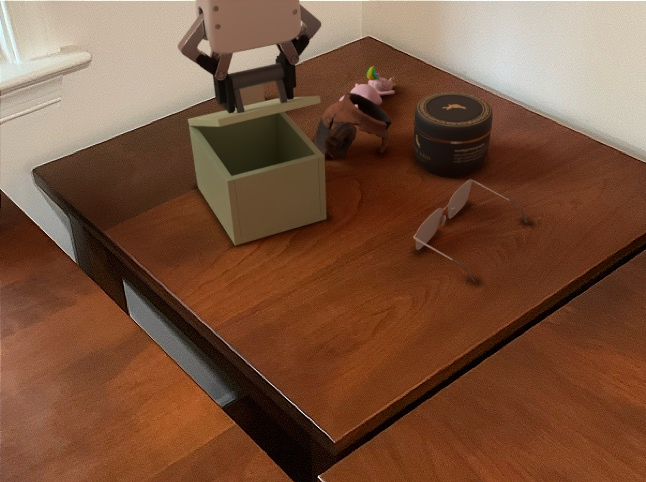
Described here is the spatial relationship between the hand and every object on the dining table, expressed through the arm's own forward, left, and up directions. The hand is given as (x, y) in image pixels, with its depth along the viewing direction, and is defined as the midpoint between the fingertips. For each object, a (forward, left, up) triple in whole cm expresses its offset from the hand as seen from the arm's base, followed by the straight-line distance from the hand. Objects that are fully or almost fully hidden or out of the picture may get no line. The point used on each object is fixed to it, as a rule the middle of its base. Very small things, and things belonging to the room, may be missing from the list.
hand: (256, 99), depth 90 cm
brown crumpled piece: (+15, +8, -15) cm, 23 cm away
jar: (+26, 0, -15) cm, 30 cm away
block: (+7, +26, -15) cm, 31 cm away
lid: (0, +2, -3) cm, 4 cm away
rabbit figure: (+23, +18, -15) cm, 33 cm away
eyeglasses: (+19, -16, -15) cm, 29 cm away
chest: (0, +2, -15) cm, 15 cm away
